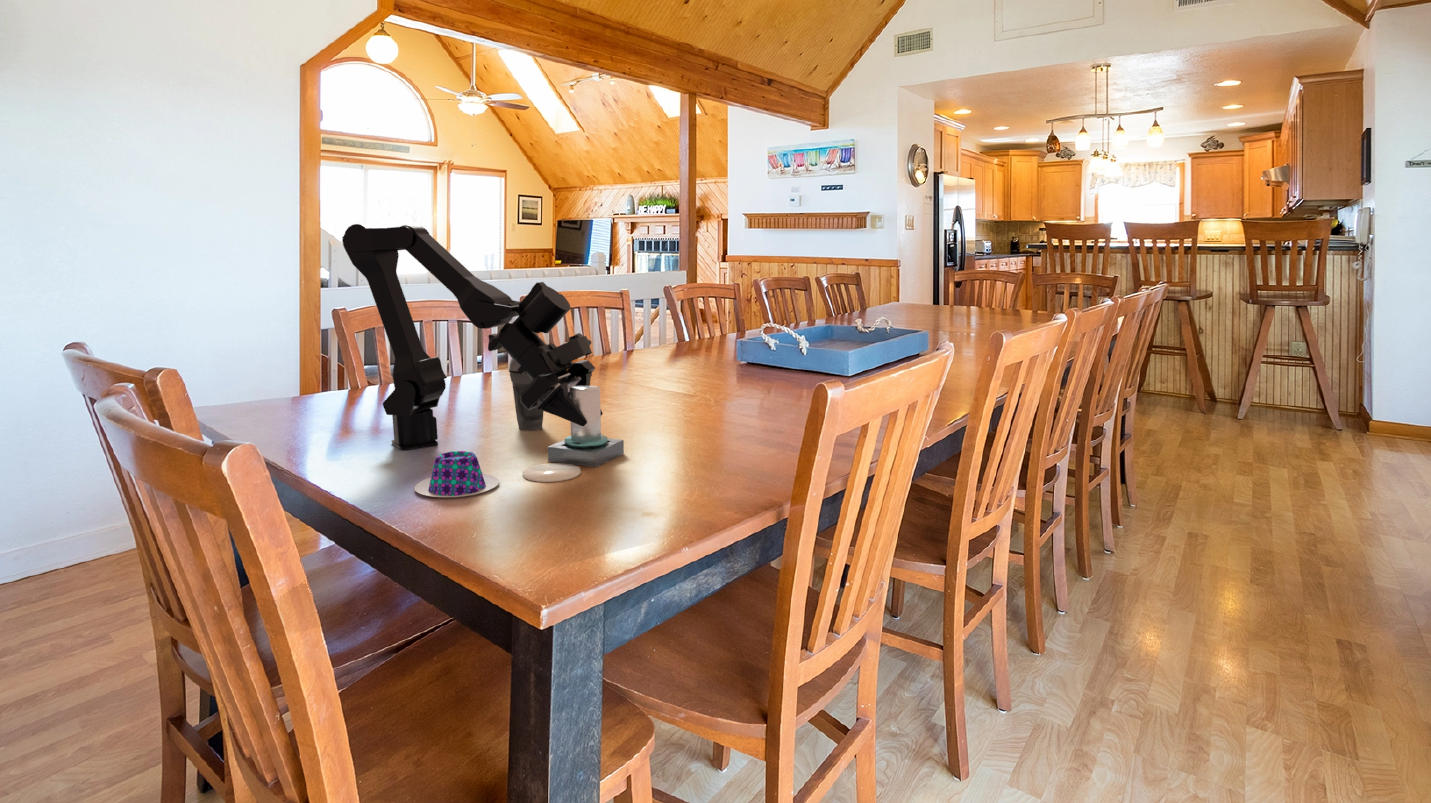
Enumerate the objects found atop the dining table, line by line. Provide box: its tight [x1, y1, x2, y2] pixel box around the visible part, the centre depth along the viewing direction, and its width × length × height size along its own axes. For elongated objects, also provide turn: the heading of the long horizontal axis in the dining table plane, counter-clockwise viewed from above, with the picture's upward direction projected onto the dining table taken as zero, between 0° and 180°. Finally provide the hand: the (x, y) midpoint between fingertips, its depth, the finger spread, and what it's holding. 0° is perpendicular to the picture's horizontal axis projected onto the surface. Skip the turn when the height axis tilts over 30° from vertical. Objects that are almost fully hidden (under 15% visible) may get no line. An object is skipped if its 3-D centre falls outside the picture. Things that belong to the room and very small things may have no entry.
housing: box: [547, 437, 625, 468], centre depth 133 cm, size 9×9×2 cm
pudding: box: [414, 450, 500, 498], centre depth 117 cm, size 12×12×5 cm
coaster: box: [522, 462, 582, 483], centre depth 124 cm, size 9×9×1 cm
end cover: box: [564, 384, 609, 449], centre depth 132 cm, size 7×7×12 cm
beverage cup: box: [508, 357, 544, 432], centre depth 152 cm, size 7×7×20 cm
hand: (593, 420), depth 132 cm, fingers open, 6 cm apart
